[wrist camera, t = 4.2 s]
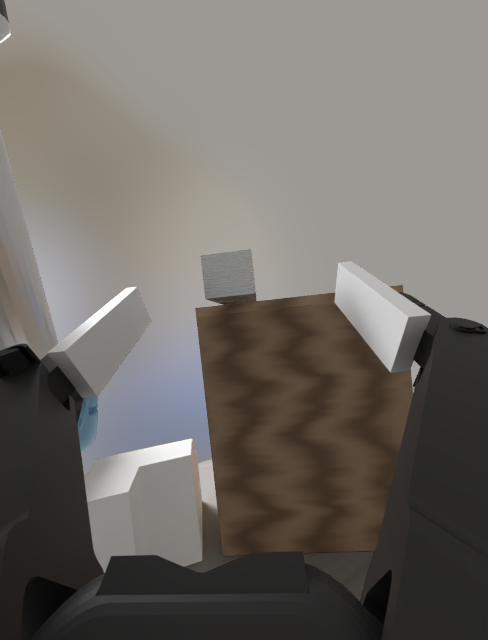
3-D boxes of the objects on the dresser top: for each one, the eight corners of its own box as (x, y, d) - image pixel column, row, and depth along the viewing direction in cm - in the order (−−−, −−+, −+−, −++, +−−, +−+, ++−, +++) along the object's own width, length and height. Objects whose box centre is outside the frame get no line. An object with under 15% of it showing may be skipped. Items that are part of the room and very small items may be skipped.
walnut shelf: (222, 555, 24) (195, 308, 23) (234, 475, 36) (216, 310, 35) (427, 548, 22) (402, 285, 22) (368, 467, 34) (351, 295, 34)
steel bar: (205, 299, 15) (200, 255, 15) (236, 308, 37) (234, 291, 37) (255, 293, 14) (251, 249, 14) (256, 306, 36) (254, 289, 36)
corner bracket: (77, 645, 18) (60, 508, 18) (124, 522, 29) (114, 437, 29) (202, 599, 20) (189, 476, 20) (202, 501, 31) (193, 421, 31)
